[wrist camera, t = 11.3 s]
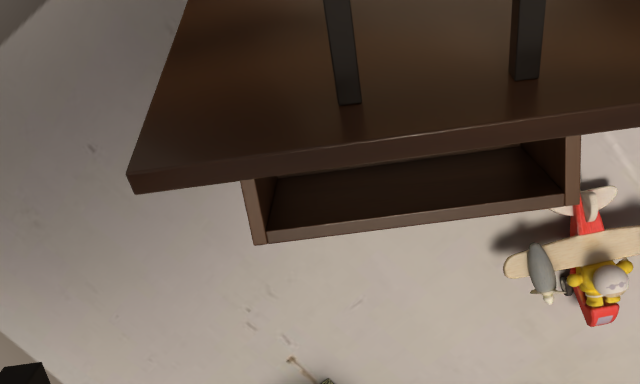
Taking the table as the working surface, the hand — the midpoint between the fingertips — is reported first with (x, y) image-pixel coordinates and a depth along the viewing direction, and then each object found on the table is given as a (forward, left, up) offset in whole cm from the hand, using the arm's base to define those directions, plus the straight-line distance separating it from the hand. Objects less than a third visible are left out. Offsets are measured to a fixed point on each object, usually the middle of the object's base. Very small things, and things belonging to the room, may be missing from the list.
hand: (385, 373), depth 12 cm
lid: (-2, +5, -13) cm, 14 cm away
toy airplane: (+20, +2, -29) cm, 35 cm away
